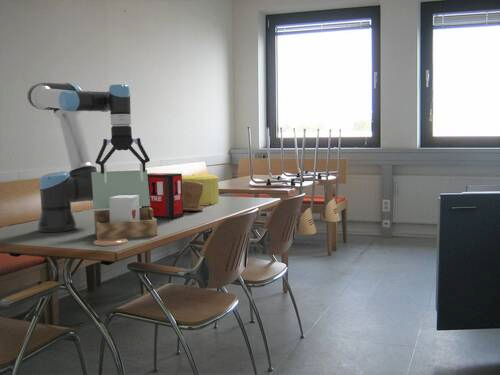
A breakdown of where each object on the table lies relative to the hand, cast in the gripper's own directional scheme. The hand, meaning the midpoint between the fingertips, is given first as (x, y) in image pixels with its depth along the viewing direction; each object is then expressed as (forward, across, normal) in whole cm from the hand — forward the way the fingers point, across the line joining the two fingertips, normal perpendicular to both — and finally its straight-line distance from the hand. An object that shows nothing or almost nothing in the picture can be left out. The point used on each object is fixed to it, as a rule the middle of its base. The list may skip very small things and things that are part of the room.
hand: (123, 181), depth 224 cm
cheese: (+20, +47, +84) cm, 99 cm away
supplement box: (+21, 0, 0) cm, 21 cm away
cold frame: (+20, 0, 0) cm, 21 cm away
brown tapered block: (+20, +37, +54) cm, 69 cm away
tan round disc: (+21, -7, -14) cm, 26 cm away
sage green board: (+4, 0, +10) cm, 11 cm away
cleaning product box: (+21, +21, +38) cm, 48 cm away
